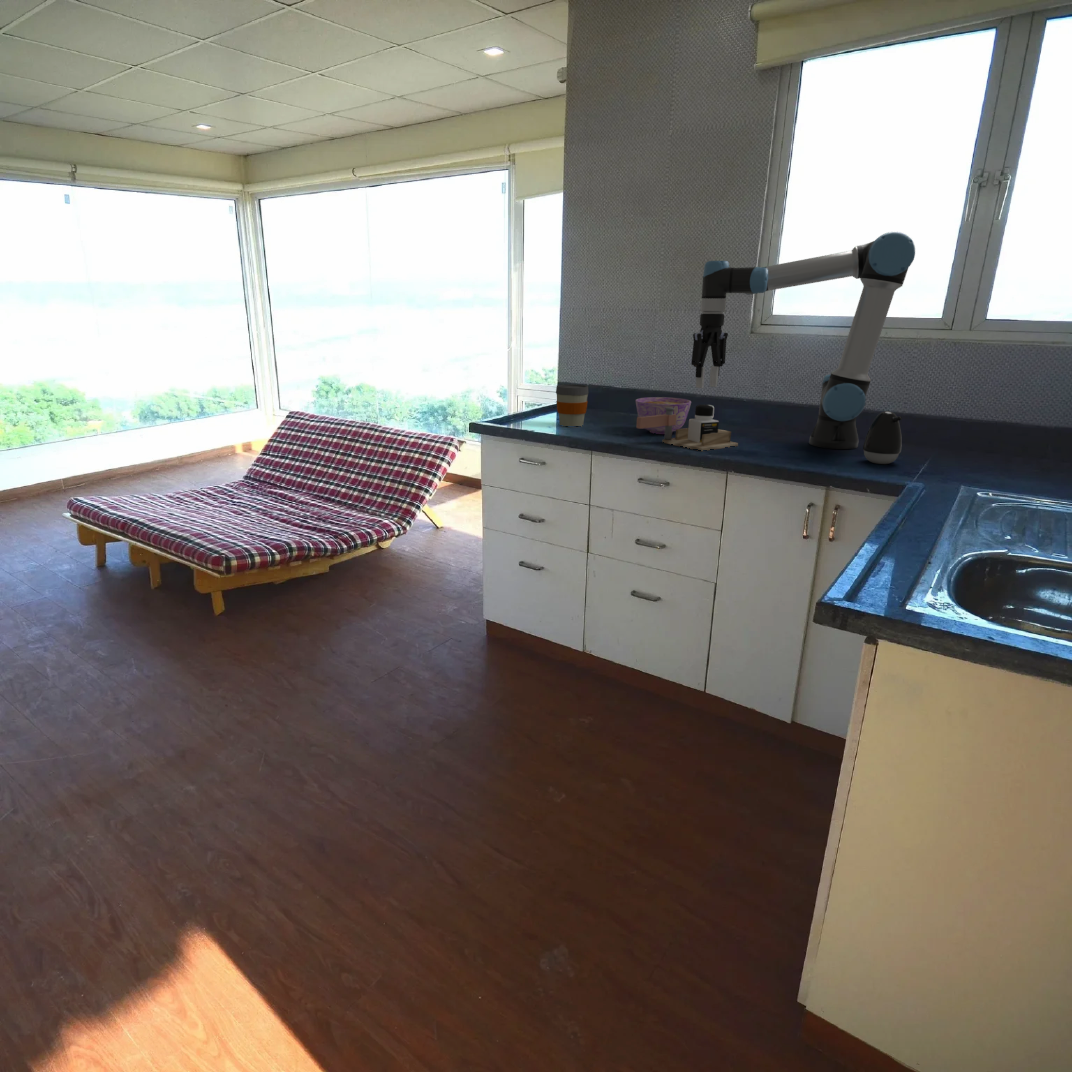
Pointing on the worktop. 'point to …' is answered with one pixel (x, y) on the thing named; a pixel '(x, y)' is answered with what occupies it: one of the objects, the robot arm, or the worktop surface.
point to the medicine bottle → (702, 423)
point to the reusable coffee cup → (571, 404)
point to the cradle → (708, 440)
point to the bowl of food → (663, 410)
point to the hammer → (659, 422)
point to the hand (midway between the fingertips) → (706, 387)
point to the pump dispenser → (883, 439)
